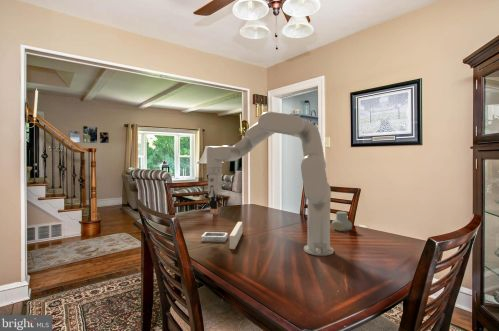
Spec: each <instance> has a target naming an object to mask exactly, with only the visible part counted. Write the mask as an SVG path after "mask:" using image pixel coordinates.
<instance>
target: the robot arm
mask: <svg viewBox="0 0 499 331" xmlns="http://www.w3.org/2000/svg"><path fill="white" fill-rule="evenodd" d="M257 120H258V122H256V123H255V124H253V125H252V126H250V127H249V128H247V129H246V130H245V134H244V137H243V138H242V139H241V140H239V141H238V142H237V143H235V144H233V145H221V146H220V145H219V146H216V145H214V146H213V145H211V146H207V148H206V175H208V176H207V177H208V178H207V179H208V180H207V181H208V182H207V193H208V195H209V198H210V203H209V204H210V206H209V207H210V210H211V209H217V202H218V208H219V206H220V205H219V204H220V202H219V201H216V196H218V197H219V198H220V196H219V195H220V194H222V191H223V190H222V187H223V186H222V185H223V184H222V175H223V162H234V161H235V162H236V161H238V160H239V159H241V158H242V157H244V156H246V155H247V154H249V152H251V151H252V150H253V149H254V148H256V147H257V146H258V145H259V144H261V143H262V142H263V141H265V140H266V139H268V138H269V137H271V136H272V135H274V134H275V133H277V134H282V135H286V136H287V135H288V136H291V137H295V138H298V139H300V141H301V149H302V154H303V159H302V160H301V164H300V171H301V178H302V185H303V192H304V195H305V198H306V199H307V244H306V245H304V246H303V251H304V252H306V254H308V255H312V256H317V257H318V256H319V257H326V256H331V255H332V254H334V251H335V250H334V248H333V247H332V246H331V199H332V198H331V197H332V196H331V195H332V194H331V193H332V191H331V189H332V188H331V186H330V183H329V182H328V178H327V171H326V167H327V162H326V160H325V154H324V153H325V152H324V148H323V144H322V143H323V142H322V138H321V133H320V131H319V129H318V128H317V127H316V126H315V125H314V123H312V122H310V121H308V120H306V119H303V118H302V117H300V116H298V115H296V114H291V113H290V114H289V113H281V112H276V111H265V112H263V113H261V114H260V115H259V117H258V119H257ZM213 193H215V194H213ZM216 194H217V195H216Z"/></svg>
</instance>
